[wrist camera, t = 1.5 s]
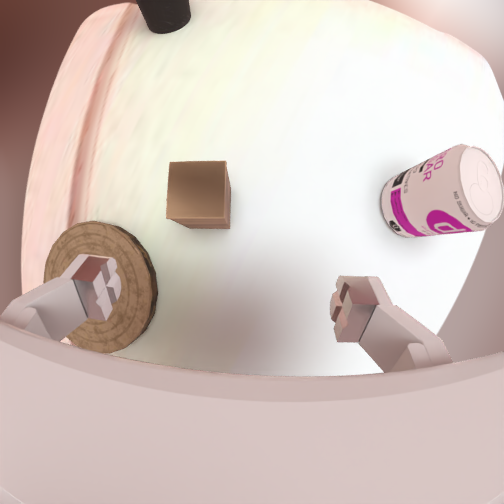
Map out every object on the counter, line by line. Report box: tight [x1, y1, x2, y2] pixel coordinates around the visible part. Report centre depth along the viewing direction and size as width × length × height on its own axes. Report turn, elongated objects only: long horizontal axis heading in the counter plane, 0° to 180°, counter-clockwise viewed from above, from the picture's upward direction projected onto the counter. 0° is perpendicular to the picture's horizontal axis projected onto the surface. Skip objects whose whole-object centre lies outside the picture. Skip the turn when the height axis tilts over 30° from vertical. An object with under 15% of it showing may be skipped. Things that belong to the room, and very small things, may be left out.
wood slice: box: [43, 221, 158, 353], centre depth 30 cm, size 16×16×3 cm
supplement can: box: [381, 144, 504, 237], centre depth 25 cm, size 8×8×15 cm
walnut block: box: [166, 161, 231, 229], centre depth 27 cm, size 5×5×10 cm
